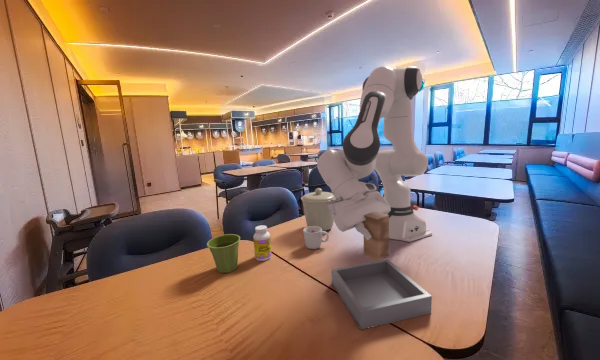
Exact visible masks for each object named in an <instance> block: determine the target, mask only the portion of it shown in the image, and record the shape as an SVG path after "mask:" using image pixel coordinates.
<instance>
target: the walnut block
mask: <svg viewBox="0 0 600 360" xmlns="http://www.w3.org/2000/svg"><path fill="white" fill-rule="evenodd" d="M364 217H365V219H366V221H363V223H364V226H363V227H364V228H366V229H367V230H368V231H370V230H371V232H372V234H373V235H374V237H372V238H371V239H369V240H367V239H366V238H365V236H364V235H363V256H364V257H366V258H369V259H371V260H373V261H377V262H379V261H380V260H385V259H387V258H388V257H389V252H390V238H389V215H387V214H383V213H379V212H375V211H374V212H371V213H368V214H366V215H364Z"/></svg>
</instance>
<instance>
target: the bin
mask: <svg viewBox="0 0 600 360" xmlns="http://www.w3.org/2000/svg"><path fill="white" fill-rule="evenodd" d="M331 284H332V286H333V287H334V289H335V291H336V292H337V294H338V295H339V297H340V299H341V301H342V302H343V303H344V305H345V307H346V309H347V310H348V312H349V313H350V315H351V317H352V318H353V320H354V322H355V321H356V322H355V324H356V325H357V324H358V325H357V326H359V327H360V328H359V327H358V328H359V330H360V329H364V328H368V327H372V326H376V327H379V326H378V325H380V326H383V325H382V324H385V325H388V324H392V323H396V322H400V321H404V320H408V319H409V320H410V319H413V318H417V317H420V316H421V317H422V316H425V315H428V314H431V313H432V305H433V304H432V299H433V296H432V295H431V294H430V293H429V292H427V291H426V290H425V289H424V288H423V287H422V286H420V284H418V282H416V281H414V279H412V278H411V277H410V276H409V275H408V274H406V273H405V272H404V271H402V270H401V269H400V268H399V267H398V266H397V265H395V264H394V263H393V262H391V260H389V259H388V258H384V259H382V260H380V261H379V262H377V261H375V260H373V261H370V262H365V263H359V264H358V263H357V264H353V265H349V266H342V267H338V268H331ZM372 328H373V327H372ZM368 329H369V328H368ZM364 330H365V329H364Z"/></svg>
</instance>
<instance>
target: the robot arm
mask: <svg viewBox="0 0 600 360" xmlns="http://www.w3.org/2000/svg"><path fill="white" fill-rule="evenodd" d="M422 84H423V75H422V72H421V70H420V68H418V66H413V65H412V66H407V67H401V68H400V67H399V68H391V67H389V66H384V65H383V66H379V67H376V68H375V69H373V70H372V71H371V72H370V74H369V76H368V77H366V78H365V79H364V81H363V82H362V93H361V96H360V99H359V100H360V101H359V114H358V116H357V118H356V119H357V120H356V122H355V124H354V125H353V127H352V128H351V129H350V131H348V133H346V135H345V136H344V139H343V140H342V149H340V150H339V149H333V148H329V149H326V150H325V151H324V152H322V153H321V154H320V156H319V157H318V159H317V163H316V167H317V171H318V172H319V174H320V176H321V178H322V179H323V182H325V184H326V185H327V186H328V187H329V188H330V190H331V193H332V194H333V195H334V197H335V198H336V199H335V200H330V201H329V203H328V209H329V210H330V212H331V215H332V217H333V220H334V222H333V223H335V226H336V228H337V229H338V230H339V231H340V232H347V231H349V230H351V229H354V228H355V230H356V231H357V232H358V233H360V234H361V235H363V237H364V236H365V238H366V239H367V240H369V239H371V238H372V237H374V235H373V234H372V232H371V230H370V231H368V230H367V229H366V228H364V223H363V221H366V219H365V217H364V215H366V214H368V213H371V212H374V211H375V212H379V213H383V214H387V215H389V240H390V239H391V240H397V241H404V242H408V243H409V242H414V241H417V240H420V239H423V238H427V237H430V236H433V232H432V230H430V229H429V228H427V224H426V221H425V220H424V218H422V217H421V216H419V215H418V214H416V213H415V212H414V211H418V210H419V206H417V205H413V204H411V193H412V192H411V187H410V186H409V184H407V183H406V182H405V181H404V180H403V178H402V176H406V177H416V176H422V175H424V173H426V171H427V169H428V167H429V160H428V157H427V155H426V154H425V153H424V152H423V151H422V150H421V149H420V148H419V146H417V144H416V142H415V139H414V136H413V125H412V123H413V122H412V121H413V120H412V118H413V117H412V115H413V114H412V103H411V101H412V99H414V97H415V96H416V95H417V94H418V93H419V92H420V90H421V88H422ZM381 119H383V135H384V138H385V140H387V141H389V142H390V144H392V145H391V146H393V149H384V150H383V149H382V150H380V149H381V148H380V147H381V140H380V137H379V133H378V127H379V124H380V120H381ZM374 171H375V172H376V173H377V174H378V176H379V178H380V180H381V183H382V187H383V195H382V193H381V192H379V191H378V188H377V186H376V185H375V184H374V183H368V182H363V181H360V180H362V179H364V178H367V177H368V176H370V175H372V174H373V173H374Z"/></svg>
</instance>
